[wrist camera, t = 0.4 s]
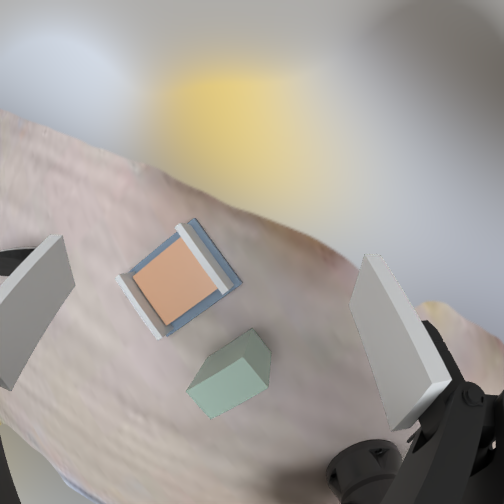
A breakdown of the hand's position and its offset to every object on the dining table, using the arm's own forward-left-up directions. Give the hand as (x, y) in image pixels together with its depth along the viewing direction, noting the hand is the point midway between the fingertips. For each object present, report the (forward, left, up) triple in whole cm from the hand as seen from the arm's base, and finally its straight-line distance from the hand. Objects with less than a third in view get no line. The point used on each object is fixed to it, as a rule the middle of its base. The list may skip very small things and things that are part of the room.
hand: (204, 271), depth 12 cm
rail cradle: (+3, +12, -33) cm, 35 cm away
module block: (-12, +12, -33) cm, 37 cm away
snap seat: (+3, +12, -30) cm, 33 cm away
